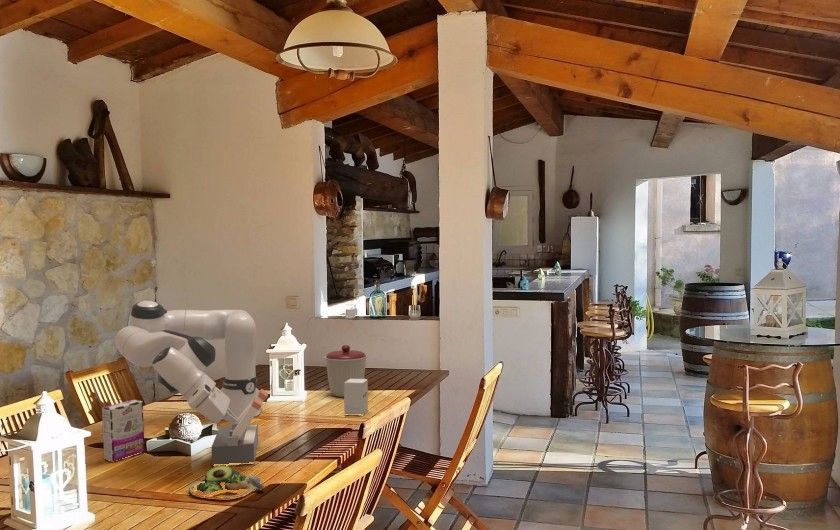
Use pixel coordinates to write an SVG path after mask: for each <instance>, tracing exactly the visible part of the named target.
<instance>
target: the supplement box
mask: <svg viewBox="0 0 840 530" xmlns="http://www.w3.org/2000/svg"><path fill="white" fill-rule="evenodd" d="M368 382H369V380H368V378H367V379H366V378H364V379H349V380H347V381H346V382H344V397H343V399H344V401H343V402H344V404H343V405H344V410H343V411H344V413H343V415H344V414H364V413H365V412H366V411H367V410H368V408H369V406H368V405H369V403H368V402H369V397H368V396H369V395H368V394H369V391H368V390H369V386H368V385H369V384H368ZM368 411H369V410H368ZM368 411H367V412H368ZM367 412H366V413H367ZM366 413H365V414H366ZM365 414H364V415H365Z"/></svg>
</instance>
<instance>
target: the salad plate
mask: <svg viewBox="0 0 840 530" xmlns="http://www.w3.org/2000/svg"><path fill="white" fill-rule="evenodd" d="M202 481H205V483H200V482H202ZM221 482H225V484H224V485H225V489H227V490H239V489H248V491H246V492H244V493H242V494H238V495H236V494H235V495H226V496H222V497H224V498H225V497H226V498H228V497H229V498H230V497H238V496H242V495H244V494H247V493H248V492H250V491H251V490H255V489H257V490H263V489H265V488H266V486H265V485H264V484H262V483H263V482H262V479H261V477H259V476H255V475H247V474H244V473H241V472H240V471H238V470H235V469H233V468H232V466H226V465H220V466H216V467H211V468H210V469H209V470H207V471H206V473H205V475H204V479H203V480H201V481H198V482H196V483H194V484H191V486H189V488H188V491H189V490H190V491H191V492H192V493H195V492H194V491H193V488H194V486H195V485H197V484H198V483H200V484H199V485H197V490H200V491H202V492H203V493H211V492H215V491H218V490H223V488H222V486H221V485H220V483H221Z"/></svg>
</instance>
